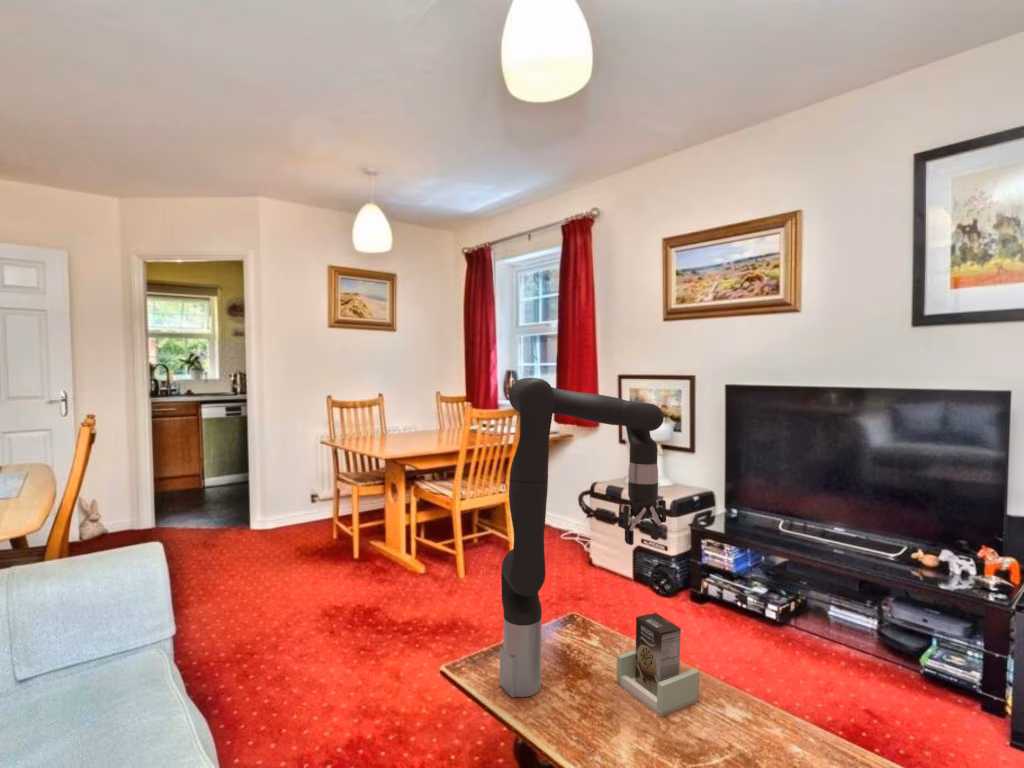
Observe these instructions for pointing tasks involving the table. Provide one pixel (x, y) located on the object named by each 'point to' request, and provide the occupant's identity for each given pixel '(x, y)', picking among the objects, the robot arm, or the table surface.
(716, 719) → the table surface
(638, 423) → the robot arm
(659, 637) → the coffee box
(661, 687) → the caddy
